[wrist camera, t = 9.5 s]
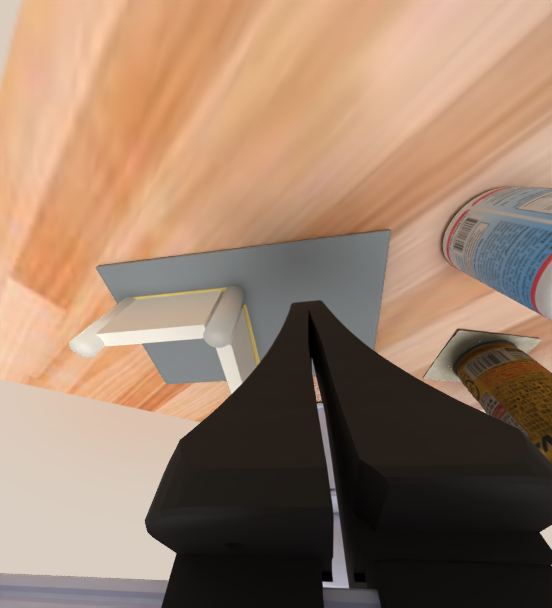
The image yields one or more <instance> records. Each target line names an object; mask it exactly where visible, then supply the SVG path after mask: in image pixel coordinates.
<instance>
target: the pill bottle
mask: <svg viewBox="0 0 552 608" xmlns="http://www.w3.org/2000/svg"><path fill="white" fill-rule="evenodd" d="M443 252H444V255H445V257H446V259H447V260H448V262H449V263H450V264H451V265H453V266H454V267H456V268H457V269H459V270H461V271H462V272H464V273H466V274H468V275H469V276H471V277H473V278H475V279H477V280H479V281H480V282H482V283H484V284H486V285H488V286H489V287H491V288H493V289H495V290H497V291H498V292H500V293H502V294H504V295H506V296H508V297H509V298H511V299H513V300H515V301H517V302H518V303H520V304H522V305H524V306H526V307H528V308H529V309H531V310H533V311H535V312H537V313H539V314H540V315H542V316H544V317H546V318H548V319H550V320H552V188H537V187H502V188H497V189H493V190H490V191H488V192H486V193H483V194H481V195H480V196H478V197H476V198H475V199H473V200H472V201H470V202H469V203H468V204H466V205H465V206H464V207H463V208H462V209H461V210H460V211H459V212H458V213H457V214H456V215H455V217H454V218H453V219H452V221H451V223H450V224H449V226H448V228H447V230H446V232H445V235H444V239H443Z"/></svg>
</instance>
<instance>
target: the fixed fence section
mask: <svg viewBox="0 0 552 608" xmlns="http://www.w3.org/2000/svg"><path fill="white" fill-rule="evenodd" d="M244 297H245V293H244V291H243V290H242V289H241V288H240V287H238V286H235V285H232V286H229V287H228V288H227V289H226V290H225V292H224V294H223V291H222V290H219V291H209V292H200V293H190V294H181V295H171V296H161V297H152V298H142V299H135V298H133V297H126V298H125V299H123V300H122V301H121V302H119V303H118V304H117V305H116V306H114V307H113V308H112V309H110V310H109V311H108V312H107V313H105V314H104V315H103V316H102V317H100V318H99V319H98V320H96V321H95V322H94V323H93V324H91V325H90V326H89V327H87V328H86V329H85V330H84V331H82V332H81V333H80V334H79V335H77V336H76V337H75V338H73V339H72V340H71V341H70V342H69V346H70V348H71V349H72V351H74V352H75V353H76V354H78V355H80V356H82V357H87V358H91V357H94V356H95V355H96V354H97V353H98V352H99V351H100V350H101V349H102V348H103V347H105V346H116V345H128V344H140V343H153V342H165V341H177V340H190V339H202V338H204V340H205V342H206V343H207V344H208V345H210V346H212V347H216V348H222V347H225V346H227V345H228V344H229V342H230V339H231V336H232V333H233V330H234V327H235V324H236V321H237V318H238V315H239V312H240V309H241V306H242V303H243V300H244Z"/></svg>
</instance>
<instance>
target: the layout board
mask: <svg viewBox="0 0 552 608" xmlns="http://www.w3.org/2000/svg"><path fill="white" fill-rule="evenodd" d="M390 233H391V230H389V229H388V230H380V231H372V232H364V233H356V234H348V235H340V236H332V237H324V238H316V239H308V240H300V241H292V242H284V243H276V244H268V245H260V246H252V247H244V248H236V249H228V250H220V251H212V252H204V253H196V254H188V255H180V256H172V257H164V258H156V259H148V260H140V261H132V262H124V263H116V264H108V265H100V266H97V267H96V269H97V271H98V272H99V274H100V276H101V277H102V279H103V281H104V282H105V284H106V286H107V287H108V289H109V290H110V292H111V294H112V295H113V297H114V299H115V300H116V302H117V304H118V303H119V302H121V301H122V300H123V299H125V298H126V297H133V298H135V299H142V298H152V297H161V296H171V295H181V294H190V293H200V292H209V291H219V290H222V291H223V294H224V292H225V290H226V289H227V288H228V287H229V286H232V285H235V286H238V287H240V288H241V289H242V290H243V291H244V293H245V297H244V300H243V303H242V306H241V307H243V310H244V314H245V319H246V323H247V328H248V332H249V337H250V341H251V346H252V350H253V355H254V359H255V364H256V367H257V365H258V364H259V363H260V362H261V360H262V359H263V357H264V356H265V355H266V353H267V352H268V350H269V349H270V347H271V346H272V344H273V342H274V341H275V339H276V337H277V336H278V334H279V332H280V330H281V328H282V326H283V324H284V322H285V320H286V318H287V315H288V313H289V310H290V305H291V304H292V303H295V302H305V301H316V300H321V301H323V302H324V304H325V305H326V306H327V307H328V309H329V310H330V311H331V312H332V313H333V314H334V315H335V316H336V317H337V319H338V320H339V321H340V322H341V323H342V324H343V325H344V326H345V327H346V328H347V329H349V330H350V331H351V332H352V333H353V334H354V335H355V336H356V337H357V338H359V339H360V340H361V341H362V342H363V343H365V344H366V345H367V346H368V347H370V348H371V349H372V350H375V342H376V335H377V328H378V321H379V313H380V306H381V299H382V291H383V284H384V277H385V270H386V262H387V255H388V248H389V240H390ZM142 345H143V346H144V348H145V350H146V351H147V353H148V355H149V356H150V358H151V360H152V361H153V363H154V364H155V366H156V368H157V369H158V371H159V373H160V374H161V376H162V378H163V379H164V381H165V383H166V384H179V383H196V382H213V381H227V380H226V377H225V374H224V371H223V368H222V365H221V362H220V359H219V356H218V353H217V350H216V347H212V346H210V345H208V344H207V343H206V342H205V340H204V338H202V339H190V340H177V341H165V342H153V343H142ZM315 375H316V373H315V369H314V365H313V360H312V376H315Z"/></svg>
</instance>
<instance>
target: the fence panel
mask: <svg viewBox="0 0 552 608" xmlns="http://www.w3.org/2000/svg"><path fill="white" fill-rule="evenodd" d="M216 350H217V353H218V356H219V359H220V362H221V365H222V368H223V371H224V374H225V377H226V380H227V383H228V386H229V388H230V391H231V394H232V393H233V392H234V391H235V390H236V389H237V388H238V387H239V386H240V385H241V384H242V383H243V382H244V381H245V380H246V379H247V377H248V376H249V375H250V374H251V373H252V371H253V370H254V369H255V368H256V364H255V359H254V355H253V350H252V346H251V341H250V337H249V332H248V328H247V323H246V319H245V314H244V310H243V307H241V309H240V312H239V315H238V318H237V321H236V324H235V327H234V330H233V333H232V336H231V339H230V342H229V344H228V345H227V346H225V347H222V348H216Z"/></svg>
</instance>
